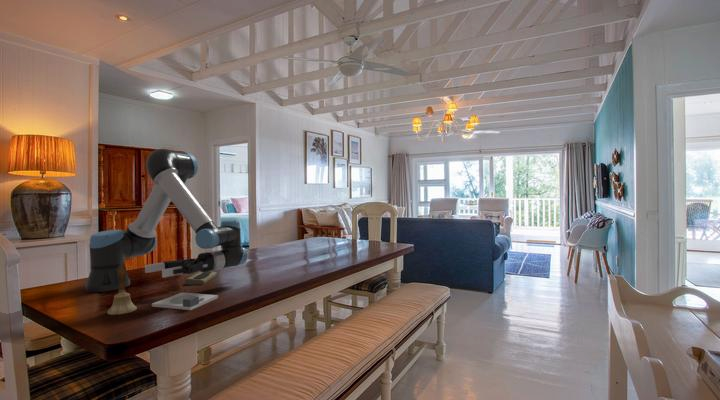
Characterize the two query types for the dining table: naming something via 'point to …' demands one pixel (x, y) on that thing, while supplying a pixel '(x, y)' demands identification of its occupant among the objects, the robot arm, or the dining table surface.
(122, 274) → the hand bell
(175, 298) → the charging dock
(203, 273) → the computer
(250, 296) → the dining table surface
